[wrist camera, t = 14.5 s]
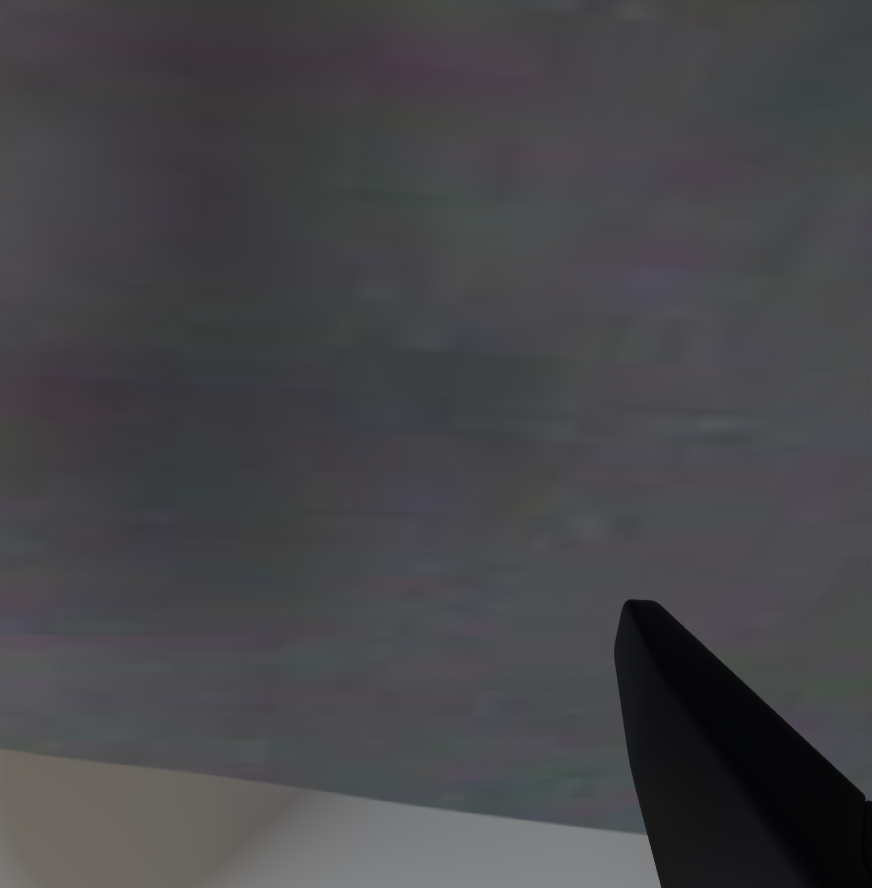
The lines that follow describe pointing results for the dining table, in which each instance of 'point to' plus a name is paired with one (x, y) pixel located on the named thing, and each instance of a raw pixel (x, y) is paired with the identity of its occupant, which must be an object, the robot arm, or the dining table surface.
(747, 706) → the robot arm
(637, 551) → the dining table surface
